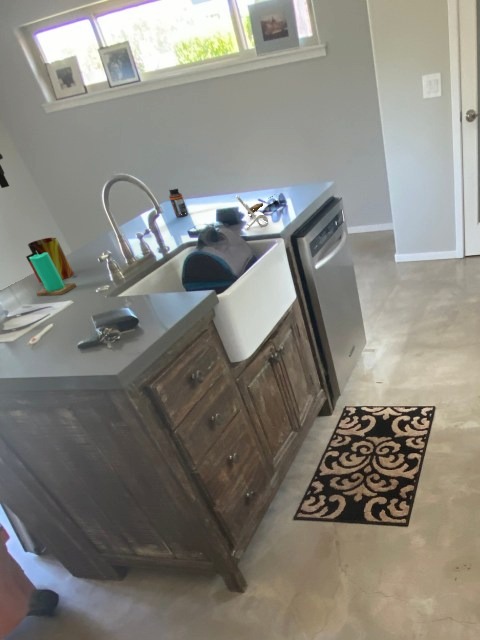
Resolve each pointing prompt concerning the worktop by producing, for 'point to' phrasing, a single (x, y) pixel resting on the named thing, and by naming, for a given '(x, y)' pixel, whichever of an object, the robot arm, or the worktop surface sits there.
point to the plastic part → (254, 216)
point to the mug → (51, 256)
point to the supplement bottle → (178, 202)
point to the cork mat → (56, 292)
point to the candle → (47, 271)
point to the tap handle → (256, 207)
